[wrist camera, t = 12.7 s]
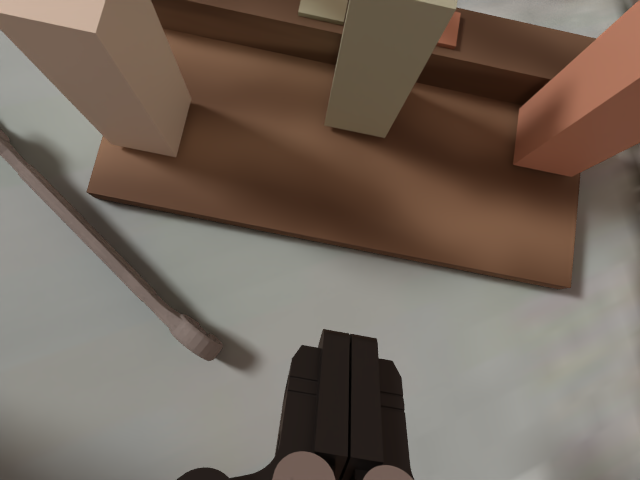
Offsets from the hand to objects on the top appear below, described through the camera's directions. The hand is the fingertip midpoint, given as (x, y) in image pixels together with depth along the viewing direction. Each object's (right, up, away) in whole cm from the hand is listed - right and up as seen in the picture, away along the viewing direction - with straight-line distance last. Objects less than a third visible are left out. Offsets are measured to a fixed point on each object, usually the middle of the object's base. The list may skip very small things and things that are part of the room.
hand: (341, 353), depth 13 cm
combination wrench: (-13, +4, +13) cm, 19 cm away
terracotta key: (+12, +9, +14) cm, 21 cm away
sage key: (+2, +11, +13) cm, 17 cm away
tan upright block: (-10, +10, +12) cm, 18 cm away
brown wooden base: (+1, +9, +15) cm, 18 cm away
